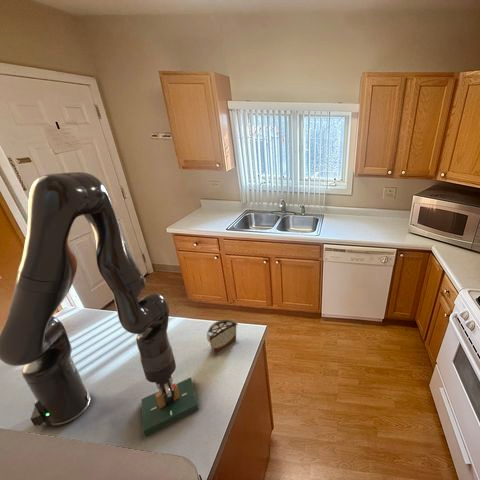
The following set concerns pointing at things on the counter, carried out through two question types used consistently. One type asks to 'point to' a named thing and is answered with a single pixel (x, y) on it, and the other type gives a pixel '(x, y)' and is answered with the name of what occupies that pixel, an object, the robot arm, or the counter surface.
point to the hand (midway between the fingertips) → (169, 400)
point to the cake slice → (222, 335)
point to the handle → (161, 399)
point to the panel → (168, 408)
